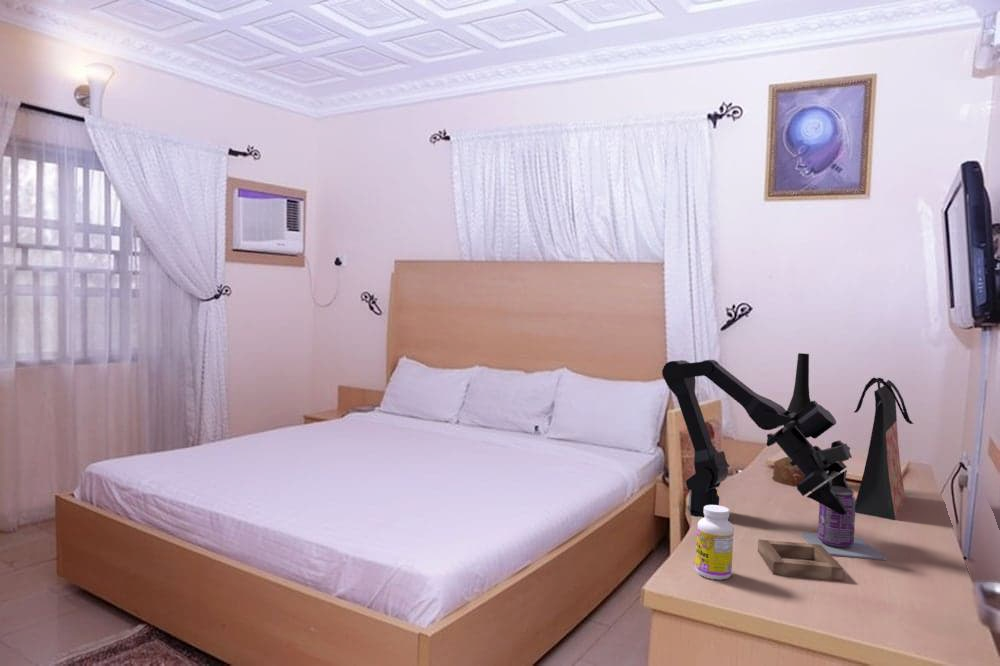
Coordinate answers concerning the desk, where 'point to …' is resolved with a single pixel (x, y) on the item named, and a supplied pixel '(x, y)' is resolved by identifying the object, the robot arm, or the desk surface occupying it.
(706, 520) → the supplement bottle
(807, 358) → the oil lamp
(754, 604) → the desk surface
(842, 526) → the beverage can
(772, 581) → the desk surface
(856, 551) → the grey pad
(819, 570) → the walnut collar
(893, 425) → the gift bag
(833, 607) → the desk surface
